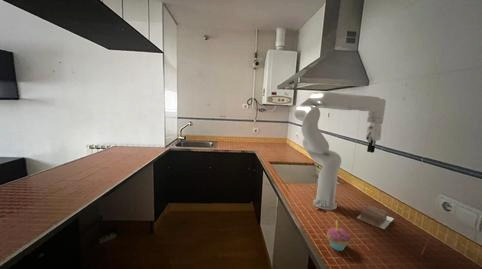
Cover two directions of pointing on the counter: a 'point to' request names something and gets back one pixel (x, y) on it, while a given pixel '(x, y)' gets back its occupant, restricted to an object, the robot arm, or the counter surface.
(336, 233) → the cupcake
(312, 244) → the counter surface
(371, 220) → the slab
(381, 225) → the mat
